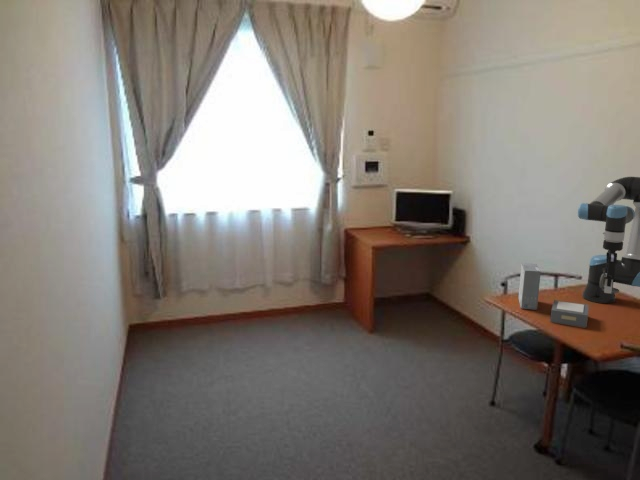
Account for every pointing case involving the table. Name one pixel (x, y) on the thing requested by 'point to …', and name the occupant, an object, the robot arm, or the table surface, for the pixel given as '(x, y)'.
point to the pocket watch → (602, 283)
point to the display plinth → (569, 313)
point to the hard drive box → (529, 286)
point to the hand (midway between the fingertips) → (607, 290)
